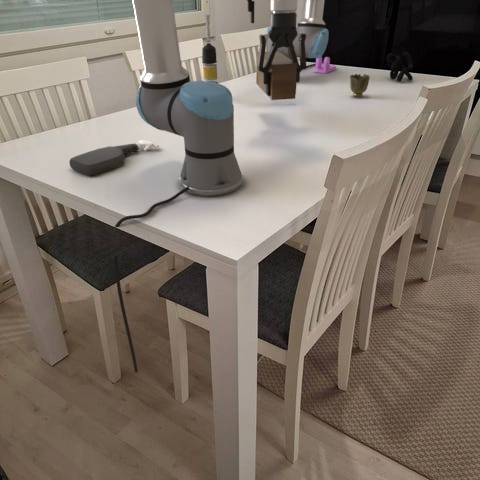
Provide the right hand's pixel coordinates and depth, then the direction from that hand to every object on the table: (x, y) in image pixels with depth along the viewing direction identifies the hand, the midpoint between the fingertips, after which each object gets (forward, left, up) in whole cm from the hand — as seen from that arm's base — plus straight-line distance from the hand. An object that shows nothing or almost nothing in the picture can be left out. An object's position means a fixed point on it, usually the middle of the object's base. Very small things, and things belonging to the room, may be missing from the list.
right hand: (271, 22), depth 152 cm
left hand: (+26, +5, -17) cm, 32 cm away
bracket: (-67, +23, -29) cm, 77 cm away
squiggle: (-48, +55, -29) cm, 78 cm away
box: (+19, +3, -18) cm, 26 cm away
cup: (-17, +34, -29) cm, 47 cm away
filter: (-10, -24, -29) cm, 39 cm away
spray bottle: (+56, -39, -29) cm, 74 cm away
